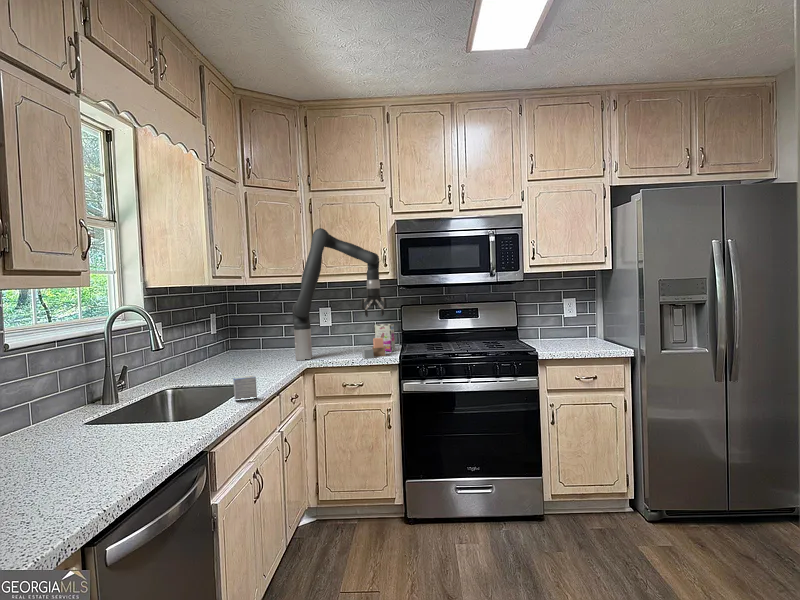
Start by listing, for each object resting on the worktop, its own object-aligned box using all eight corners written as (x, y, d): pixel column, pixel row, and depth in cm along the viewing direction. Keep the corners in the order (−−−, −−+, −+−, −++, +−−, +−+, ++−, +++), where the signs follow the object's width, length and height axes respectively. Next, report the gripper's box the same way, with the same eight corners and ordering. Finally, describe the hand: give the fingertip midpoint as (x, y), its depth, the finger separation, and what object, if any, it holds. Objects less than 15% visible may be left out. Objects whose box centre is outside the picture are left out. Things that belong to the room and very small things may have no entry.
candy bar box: (395, 351, 328) (394, 323, 327) (391, 352, 323) (390, 324, 323) (379, 350, 333) (378, 323, 332) (375, 351, 329) (374, 324, 328)
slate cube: (364, 359, 300) (364, 350, 300) (362, 358, 305) (362, 349, 305) (373, 358, 302) (373, 349, 302) (371, 357, 307) (370, 348, 306)
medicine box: (255, 397, 212) (254, 375, 212) (257, 399, 208) (256, 376, 207) (234, 400, 209) (233, 377, 208) (235, 402, 205) (234, 379, 204)
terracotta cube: (373, 346, 313) (373, 338, 313) (382, 346, 314) (381, 337, 314) (374, 347, 309) (374, 339, 308) (383, 347, 309) (383, 338, 309)
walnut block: (372, 357, 308) (372, 348, 308) (372, 355, 315) (372, 346, 315) (385, 356, 308) (384, 347, 308) (384, 354, 315) (384, 346, 315)
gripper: (385, 287, 315) (386, 315, 316) (360, 288, 313) (361, 316, 314) (386, 287, 308) (387, 316, 308) (361, 288, 306) (362, 317, 306)
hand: (374, 316), depth 311 cm, fingers open, 8 cm apart
